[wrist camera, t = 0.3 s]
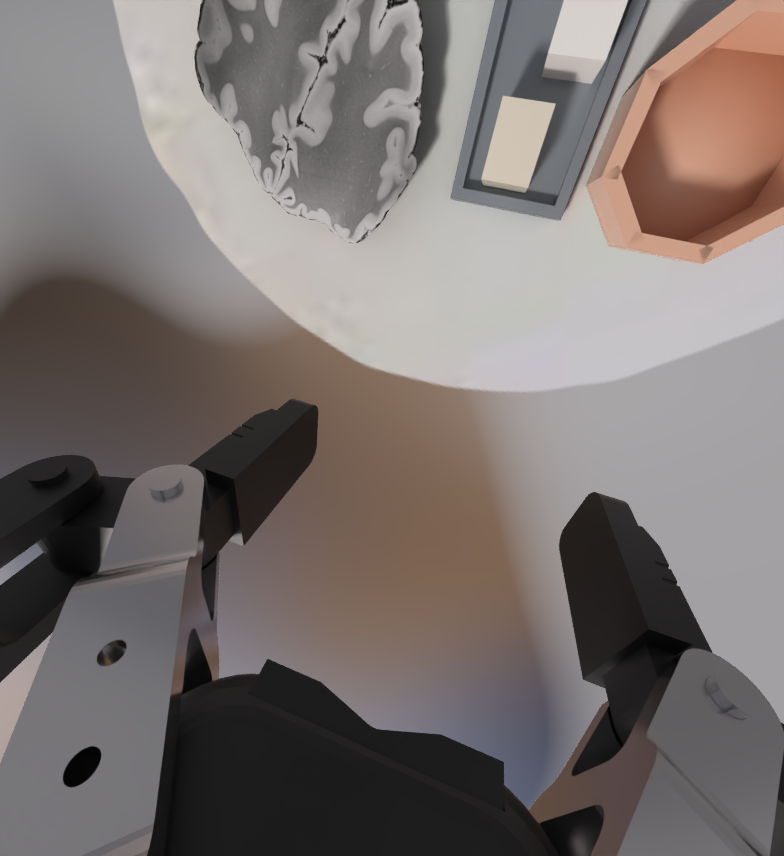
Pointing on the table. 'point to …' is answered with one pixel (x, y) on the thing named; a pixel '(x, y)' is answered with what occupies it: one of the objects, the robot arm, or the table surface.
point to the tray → (522, 78)
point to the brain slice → (319, 100)
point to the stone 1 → (516, 143)
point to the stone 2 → (583, 39)
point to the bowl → (699, 142)
